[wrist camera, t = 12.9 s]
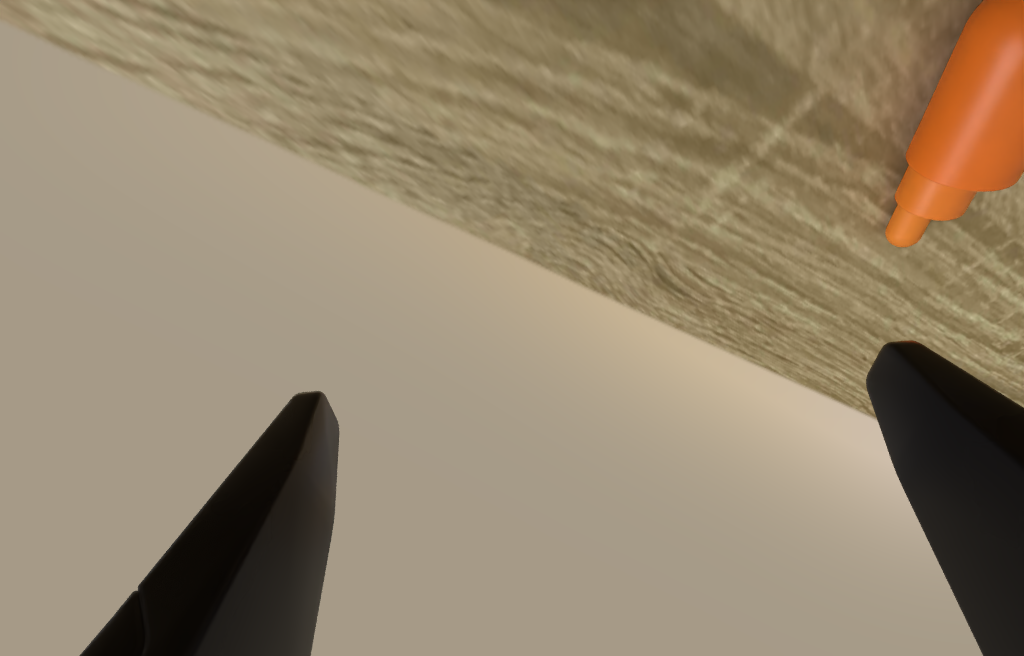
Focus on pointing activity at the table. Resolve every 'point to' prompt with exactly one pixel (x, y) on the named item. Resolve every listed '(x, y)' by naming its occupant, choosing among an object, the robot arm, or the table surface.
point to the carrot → (967, 125)
